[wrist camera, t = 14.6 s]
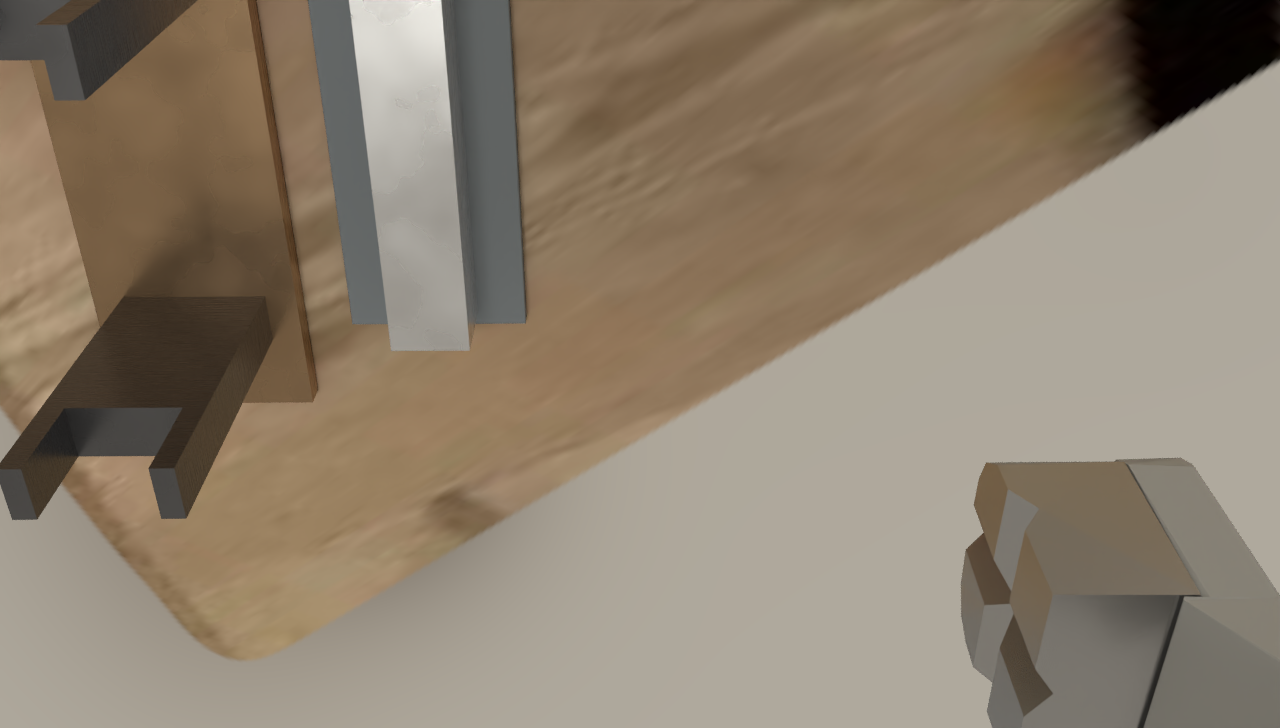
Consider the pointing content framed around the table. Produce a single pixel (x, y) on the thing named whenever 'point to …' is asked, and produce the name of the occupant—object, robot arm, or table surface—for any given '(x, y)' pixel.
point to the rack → (162, 237)
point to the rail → (417, 169)
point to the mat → (485, 146)
